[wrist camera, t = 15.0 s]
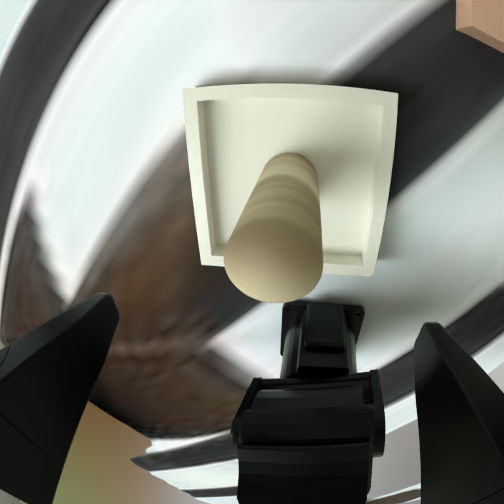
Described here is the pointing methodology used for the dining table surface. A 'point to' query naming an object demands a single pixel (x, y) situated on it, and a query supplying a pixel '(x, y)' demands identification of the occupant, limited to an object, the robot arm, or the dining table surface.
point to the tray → (300, 142)
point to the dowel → (278, 233)
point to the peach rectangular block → (482, 21)
